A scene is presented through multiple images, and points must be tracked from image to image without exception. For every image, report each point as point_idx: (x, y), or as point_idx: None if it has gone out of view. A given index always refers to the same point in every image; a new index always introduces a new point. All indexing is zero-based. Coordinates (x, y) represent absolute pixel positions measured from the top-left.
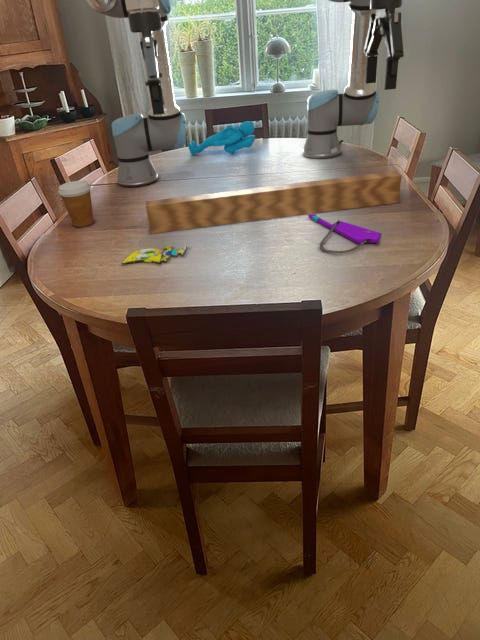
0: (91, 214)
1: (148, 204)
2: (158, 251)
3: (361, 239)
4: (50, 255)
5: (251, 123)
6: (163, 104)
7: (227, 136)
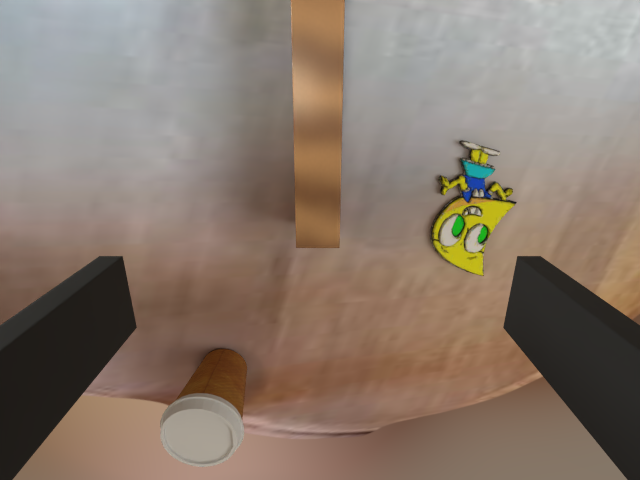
0: (225, 361)
1: (326, 241)
2: (462, 206)
3: None
4: (376, 400)
5: None
6: (119, 263)
7: None
